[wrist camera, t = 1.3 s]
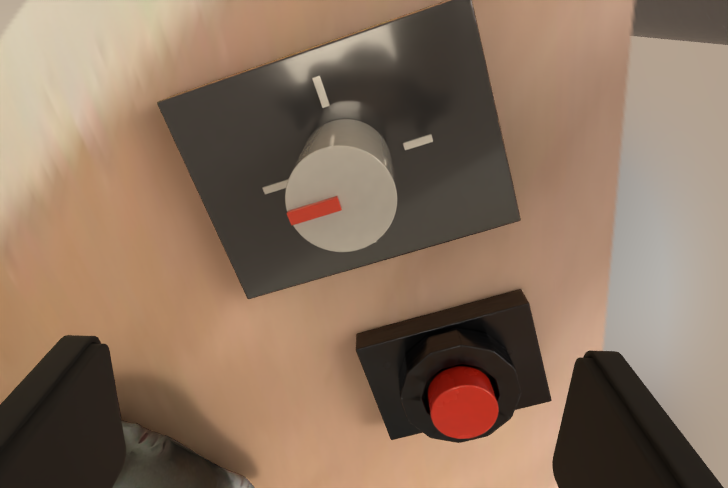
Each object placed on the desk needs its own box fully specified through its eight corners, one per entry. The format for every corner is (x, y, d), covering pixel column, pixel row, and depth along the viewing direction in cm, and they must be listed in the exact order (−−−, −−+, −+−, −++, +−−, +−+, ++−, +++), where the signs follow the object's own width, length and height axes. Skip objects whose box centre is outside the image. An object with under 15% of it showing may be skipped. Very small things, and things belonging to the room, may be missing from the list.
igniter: (521, 288, 31) (538, 320, 28) (543, 383, 34) (561, 422, 31) (356, 333, 32) (354, 369, 29) (389, 421, 35) (392, 462, 32)
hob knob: (376, 106, 25) (378, 132, 20) (402, 192, 27) (411, 237, 21) (287, 135, 26) (266, 167, 20) (318, 218, 27) (307, 268, 22)
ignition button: (483, 358, 29) (490, 378, 28) (498, 408, 31) (505, 430, 29) (419, 374, 30) (422, 395, 28) (436, 423, 31) (440, 446, 30)
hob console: (463, -6, 25) (471, -7, 23) (511, 207, 29) (522, 222, 27) (170, 96, 27) (154, 103, 25) (254, 283, 31) (246, 301, 29)
